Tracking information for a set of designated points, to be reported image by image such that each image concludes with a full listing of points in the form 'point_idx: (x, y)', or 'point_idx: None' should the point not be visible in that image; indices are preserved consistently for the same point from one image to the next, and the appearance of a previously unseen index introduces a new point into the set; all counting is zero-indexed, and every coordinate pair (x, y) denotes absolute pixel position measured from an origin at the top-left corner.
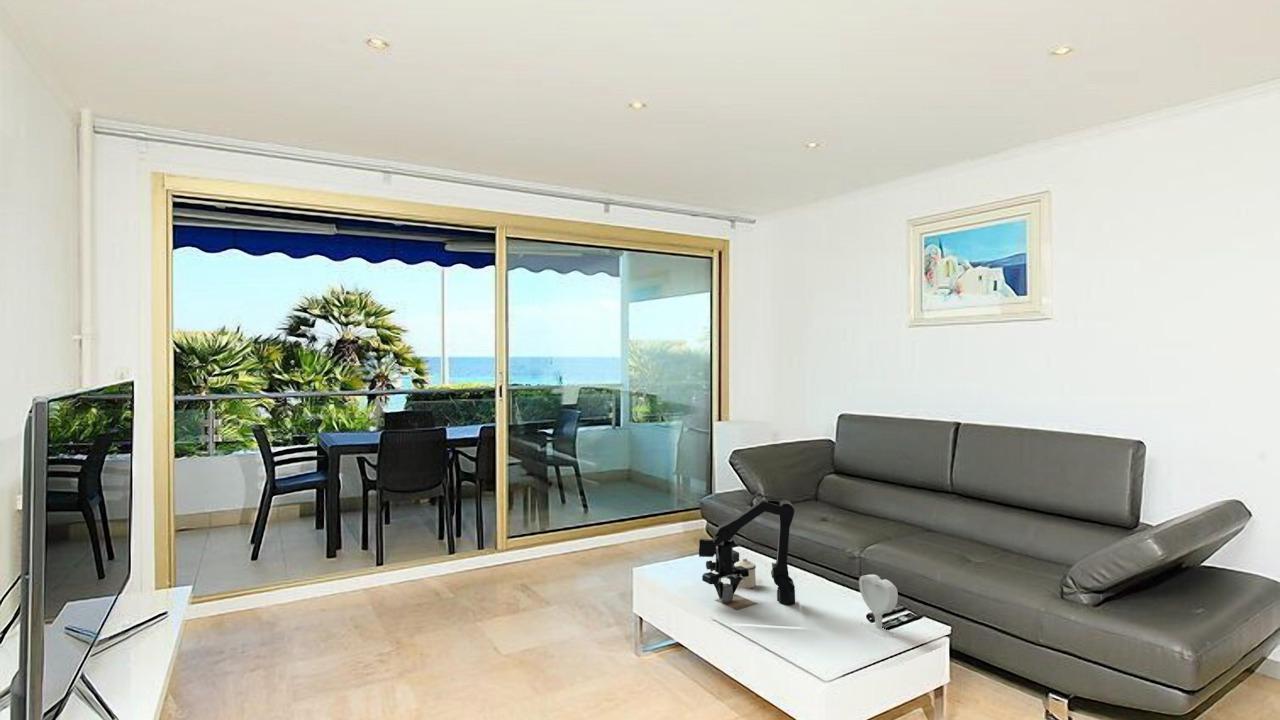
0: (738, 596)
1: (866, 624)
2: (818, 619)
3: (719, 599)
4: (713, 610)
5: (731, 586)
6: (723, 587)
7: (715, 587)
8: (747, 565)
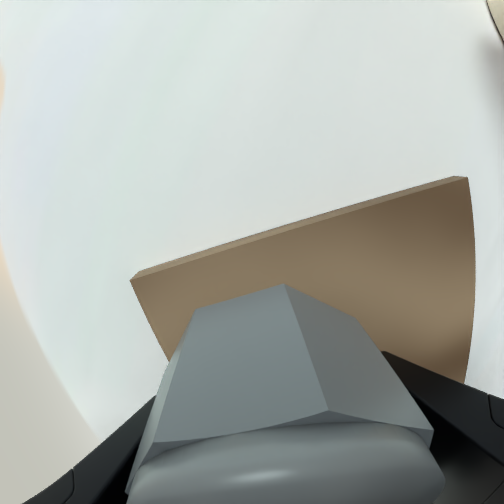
0: (458, 261)
1: None
2: None
3: (200, 281)
4: (99, 422)
5: None
6: None
7: (49, 494)
8: None
